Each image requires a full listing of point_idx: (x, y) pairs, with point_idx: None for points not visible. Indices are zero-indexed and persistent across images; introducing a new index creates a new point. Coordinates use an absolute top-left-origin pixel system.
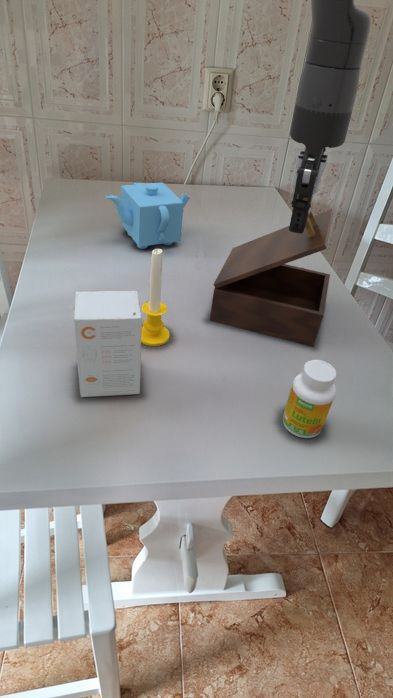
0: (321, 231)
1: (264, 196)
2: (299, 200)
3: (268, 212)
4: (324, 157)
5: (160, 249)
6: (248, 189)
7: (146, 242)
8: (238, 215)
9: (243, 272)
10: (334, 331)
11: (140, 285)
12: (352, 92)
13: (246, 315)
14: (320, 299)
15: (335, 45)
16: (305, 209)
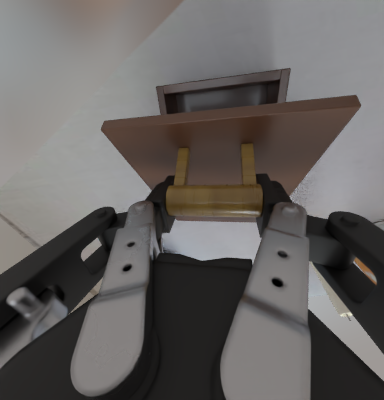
0: (238, 131)
1: (7, 202)
2: (349, 262)
3: (32, 192)
4: (130, 381)
5: (342, 313)
6: (11, 218)
7: None
8: (64, 215)
9: None
10: (226, 53)
11: (227, 252)
12: None
13: None
14: (227, 86)
15: None
16: (307, 215)
